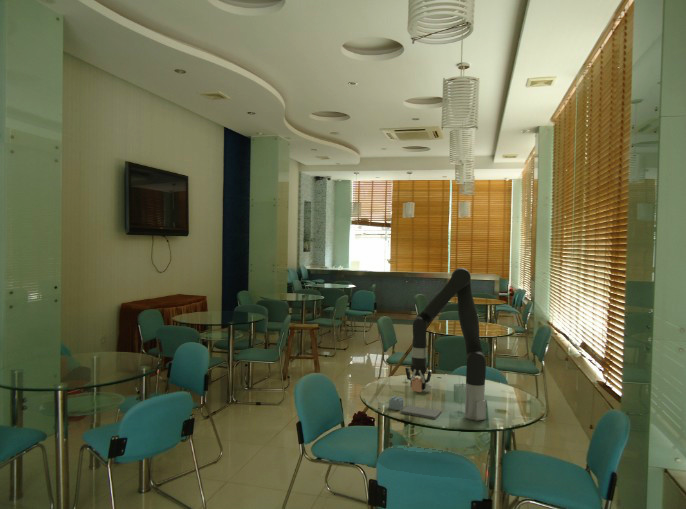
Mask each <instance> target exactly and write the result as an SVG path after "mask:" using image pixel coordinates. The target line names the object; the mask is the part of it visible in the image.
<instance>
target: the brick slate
mask: <svg viewBox="0 0 686 509" xmlns="http://www.w3.org/2000/svg"><path fill="white" fill-rule="evenodd" d="M388 400H389V402H388V409H389V410H396V411H401V410H403V409H404V398H403V397H402V396H398V397H397V395H393V396H391V397H390V398H389V399H388Z"/></svg>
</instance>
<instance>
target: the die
mask: <svg viewBox="0 0 686 509" xmlns="http://www.w3.org/2000/svg"><path fill="white" fill-rule="evenodd" d="M425 378H426V379H427V377H425ZM432 387H433V385H432V382H431V380H430V381H429V382H428V383H426V388H425V389H424V390H423V391H422V392H421V393H428V392H429V390H430V389H432Z"/></svg>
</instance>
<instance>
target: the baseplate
mask: <svg viewBox="0 0 686 509" xmlns="http://www.w3.org/2000/svg"><path fill="white" fill-rule="evenodd" d="M442 413H443V412H442V410H439V409H434V408H428V407H423V406H422V407H421V406H415V405H411V404H410V405H409V404H408V405H407V406H405V407H403V408H402V409H401V410H400V414H403V415H410V416H414V417H420V418H426V419H430V420H431V419H432V420H436V419H437V418H438V417H439V416H440V415H441V414H442Z"/></svg>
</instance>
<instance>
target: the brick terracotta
mask: <svg viewBox="0 0 686 509" xmlns="http://www.w3.org/2000/svg"><path fill="white" fill-rule="evenodd" d="M422 383H423V382H422V379H421V377H419V376H415V379H413V380H412V385H411V384H410V389H411V390H410V391H411V392H417V393H423V392H422V391H423V390H422Z"/></svg>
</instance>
